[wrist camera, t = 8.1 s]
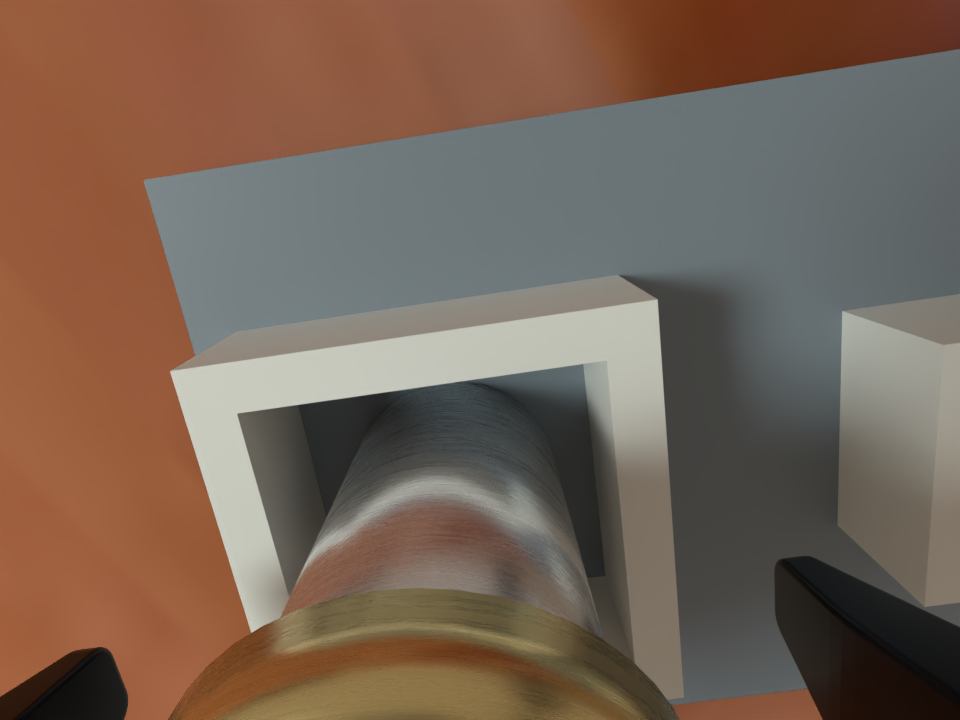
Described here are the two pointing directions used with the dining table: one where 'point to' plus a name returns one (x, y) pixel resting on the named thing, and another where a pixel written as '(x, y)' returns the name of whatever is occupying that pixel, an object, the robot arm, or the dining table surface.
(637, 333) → the board
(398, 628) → the gold capped canister
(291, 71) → the dining table surface
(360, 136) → the dining table surface
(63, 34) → the dining table surface
